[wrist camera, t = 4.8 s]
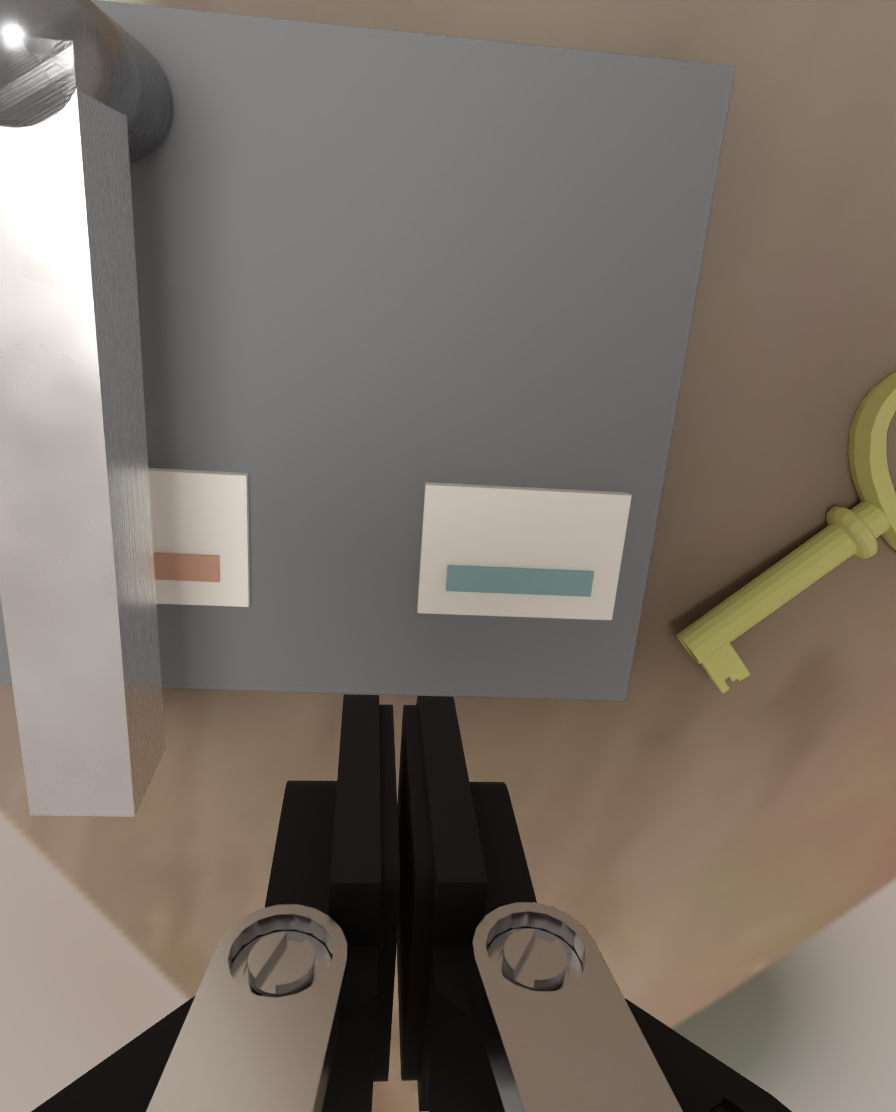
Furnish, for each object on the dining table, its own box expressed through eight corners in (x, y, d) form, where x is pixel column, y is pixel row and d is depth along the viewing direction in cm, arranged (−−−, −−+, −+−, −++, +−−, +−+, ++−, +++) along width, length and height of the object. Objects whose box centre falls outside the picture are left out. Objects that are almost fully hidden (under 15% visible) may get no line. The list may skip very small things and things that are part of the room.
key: (648, 632, 27) (669, 661, 25) (909, 330, 24) (956, 337, 22) (793, 731, 29) (823, 766, 27) (1052, 463, 26) (1107, 479, 24)
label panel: (712, 78, 21) (742, 62, 19) (614, 677, 27) (629, 707, 25) (-86, -2, 19) (-134, -28, 17) (5, 660, 25) (-24, 689, 24)
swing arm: (168, 34, 18) (77, -58, 13) (197, 694, 24) (143, 816, 19) (42, 21, 18) (-103, -77, 13) (102, 691, 24) (21, 815, 19)
